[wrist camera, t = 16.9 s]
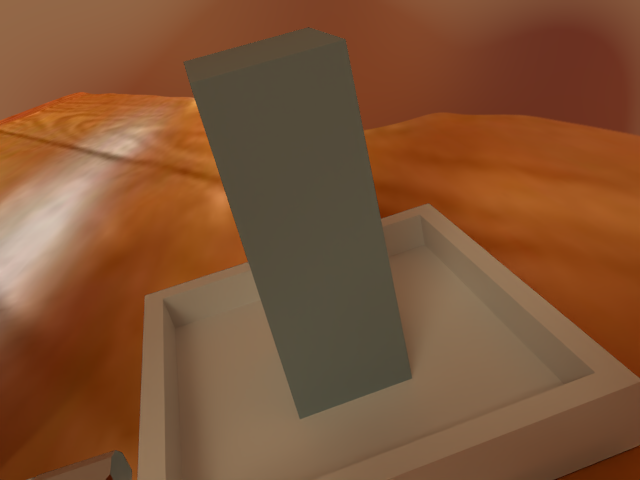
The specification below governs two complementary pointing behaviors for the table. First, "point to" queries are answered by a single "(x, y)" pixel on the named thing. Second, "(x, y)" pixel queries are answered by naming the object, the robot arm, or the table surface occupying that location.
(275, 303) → the slate block
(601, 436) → the bin
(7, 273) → the table surface
